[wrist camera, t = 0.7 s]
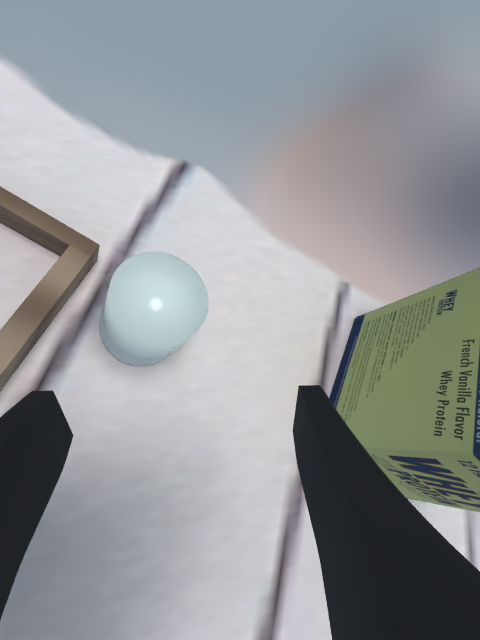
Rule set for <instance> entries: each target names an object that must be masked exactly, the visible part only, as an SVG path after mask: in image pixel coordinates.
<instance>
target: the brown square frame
mask: <svg viewBox="0 0 480 640" xmlns="http://www.w3.org/2000/svg"><path fill="white" fill-rule="evenodd" d="M0 223H2V224H4V225H6V226H8V227H9V228H11V229H13V230H15V231H16V232H18V233H20V234H22V235H24V236H25V237H27V238H29V239H31V240H32V241H34V242H36V243H38V244H40V245H41V246H43V247H45V248H47V249H49V250H50V251H52V252H54V253H56V254H57V255H59V256H61V257H60V258H59V259H58V260H57V262H56V263H55V264H54V265H53V266H52V268H51V269H50V270H49V271H48V273H47V274H46V275H45V276H44V277H43V279H42V280H41V281H40V282H39V284H38V285H37V286H36V287H35V288H34V290H33V291H32V292H31V293H30V295H29V296H28V297H27V298H26V299H25V301H24V302H23V303H22V304H21V306H20V307H19V308H18V309H17V310H16V312H15V313H14V314H13V315H12V317H11V318H10V319H9V320H8V321H7V323H6V324H5V325H4V326H3V328H2V329H1V330H0V390H1V389H2V388H3V386H4V385H5V384H6V382H7V381H8V380H9V378H10V377H11V376H12V374H13V373H14V372H15V370H16V369H17V368H18V366H19V365H20V364H21V362H22V361H23V359H24V358H25V357H26V355H27V354H28V353H29V351H30V350H31V349H32V347H33V346H34V345H35V343H36V342H37V341H38V339H39V338H40V337H41V335H42V334H43V333H44V331H45V330H46V329H47V327H48V326H49V325H50V323H51V322H52V320H53V319H54V318H55V316H56V315H57V314H58V312H59V311H60V310H61V308H62V307H63V306H64V304H65V303H66V302H67V300H68V299H69V298H70V296H71V295H72V294H73V292H74V291H75V290H76V288H77V287H78V285H79V284H80V283H81V281H82V280H83V279H84V277H85V276H86V275H87V273H88V272H89V271H90V269H91V268H92V267H93V265H94V264H95V263H96V261H97V258H98V251H99V244H97V243H95V242H94V241H92V240H90V239H89V238H87V237H85V236H84V235H82V234H80V233H78V232H77V231H75V230H73V229H72V228H70V227H68V226H67V225H65V224H63V223H61V222H60V221H58V220H56V219H55V218H53V217H51V216H50V215H48V214H46V213H44V212H43V211H41V210H39V209H38V208H36V207H34V206H33V205H31V204H29V203H27V202H26V201H24V200H22V199H21V198H19V197H17V196H16V195H14V194H12V193H10V192H9V191H7V190H5V189H4V188H2V187H0Z"/></svg>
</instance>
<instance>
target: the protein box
mask: <svg viewBox="0 0 480 640" xmlns="http://www.w3.org/2000/svg"><path fill="white" fill-rule="evenodd" d="M330 401H331V402H332V404H333V405H334V407H335V408H336V410H337V411H338V413H339V414H340V416H341V417H342V418H343V420H344V421H345V423H346V424H347V426H348V427H349V428H350V430H351V431H352V432H353V434H354V435H355V436H356V438H357V439H358V440H359V442H360V443H361V444H362V446H363V447H364V448H365V449H366V451H367V452H368V453H369V455H370V456H371V457H372V458H373V460H374V461H375V462H376V463H377V465H378V466H379V467H380V468H381V469H382V471H383V472H384V473H385V474H386V475H387V477H388V478H389V479H390V480H391V481H392V483H393V484H394V485H395V486H396V487H397V488H398V489H399V491H400V492H401V493H402V494H403V495H404V496H405V497H406V498H407V499H412V500H417V501H423V502H430V503H434V504H439V505H444V506H449V507H455V508H460V509H466V510H471V511H477V512H480V268H477V269H475V270H472V271H470V272H467V273H465V274H463V275H460V276H458V277H455V278H453V279H450V280H448V281H445V282H443V283H441V284H438V285H435V286H433V287H431V288H428V289H426V290H423V291H421V292H418V293H416V294H413V295H411V296H408V297H406V298H403V299H401V300H398V301H396V302H393V303H391V304H389V305H386V306H384V307H381V308H379V309H376V310H374V311H371V312H369V313H366V314H363V315H361V316H358V317H356V318H355V322H354V325H353V328H352V331H351V334H350V337H349V340H348V343H347V346H346V350H345V353H344V356H343V359H342V362H341V365H340V368H339V371H338V374H337V377H336V381H335V384H334V387H333V390H332V393H331V396H330Z"/></svg>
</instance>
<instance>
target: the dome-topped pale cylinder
mask: <svg viewBox="0 0 480 640" xmlns="http://www.w3.org/2000/svg"><path fill="white" fill-rule="evenodd" d="M207 312H208V295H207V291H206V287H205V285H204V283H203V281H202V279H201V277H200V276H199V275H198V273H197V272H196V271H195V270H194V269H193V268H192V267H191V266H190V265H189V264H187V263H186V262H185V261H183V260H181V259H180V258H178V257H175V256H173V255H170V254H167V253H162V252H145V253H140V254H137V255H135V256H132V257H130V258H129V259H127V260H126V261H124V262H123V263H122V264H121V265H120V266H119V267H118V268H117V270H116V271H115V273H114V275H113V277H112V279H111V282H110V286H109V290H108V293H107V297H106V301H105V305H104V308H103V312H102V316H101V320H100V326H99V330H100V337H101V340H102V342H103V344H104V346H105V348H106V349H107V351H108V352H109V353H110V354H111V355H112V356H113V357H115V358H116V359H117V360H119V361H121V362H123V363H125V364H128V365H132V366H148V365H153V364H155V363H158V362H159V361H161V360H163V359H164V358H166V357H167V356H168V355H169V354H170V353H172V352H173V351H174V350H175V349H177V348H178V347H179V346H180V345H181V344H183V343H184V342H185V341H186V340H188V339H189V338H190V337H191V336H193V335H194V334H195V333H196V332H197V331H198V330H199V329H200V327H201V326H202V324H203V323H204V321H205V318H206V316H207Z"/></svg>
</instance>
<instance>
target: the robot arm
mask: <svg viewBox="0 0 480 640" xmlns="http://www.w3.org/2000/svg"><path fill="white" fill-rule="evenodd" d="M293 436H294V444H295V451H296V458H297V465H298V469H299V473H300V478H301V482H302V486H303V490H304V494H305V498H306V502H307V507H308V511H309V515H310V519H311V523H312V527H313V531H314V535H315V539H316V544H317V548H318V553H319V558H320V563H321V569H322V575H323V582H324V588H325V594H326V601H327V607H328V614H329V621H330V627H331V634H332V640H480V571H479V570H478V569H477V568H476V567H474V566H473V565H472V564H471V563H470V562H469V561H468V560H467V559H466V558H465V557H464V556H463V555H462V554H460V553H459V552H458V551H457V550H456V549H455V548H454V547H453V546H452V545H451V544H450V543H449V542H448V541H447V540H446V539H445V538H444V537H443V536H442V535H441V534H440V533H439V532H438V531H437V530H436V529H435V528H434V527H433V526H432V525H431V524H430V523H429V522H428V521H427V520H426V519H425V518H424V517H423V516H422V514H421V513H420V512H419V511H418V510H417V509H416V508H415V507H414V506H413V505H412V504H411V503H410V502H409V501H408V499H407V498H406V497H405V496H404V495H403V494H402V493H401V492H400V491H399V489H398V488H397V487H396V486H395V485H394V484H393V483H392V481H391V480H390V479H389V478H388V477H387V475H386V474H385V473H384V472H383V471H382V469H381V468H380V467H379V466H378V465H377V463H376V462H375V461H374V460H373V458H372V457H371V456H370V455H369V453H368V452H367V451H366V449H365V448H364V447H363V446H362V444H361V443H360V442H359V440H358V439H357V438H356V436H355V435H354V434H353V432H352V431H351V430H350V428H349V427H348V426H347V424H346V423H345V421H344V420H343V418H342V417H341V416H340V414H339V413H338V411H337V410H336V408H335V407H334V405H333V404H332V402H331V401H330V399H329V398H328V396H327V395H326V393H325V391H324V390H323V388H322V387H321V386H320V385H313V386H299V389H298V396H297V403H296V410H295V418H294V425H293ZM72 438H73V434H72V431H71V429H70V427H69V425H68V423H67V420H66V418H65V416H64V414H63V412H62V409H61V407H60V405H59V403H58V401H57V398H56V396H55V394H54V392H53V391H32V392H30V393H29V394H28V395H27V396H25V397H24V398H23V399H22V400H21V401H19V402H18V403H17V404H16V405H15V406H13V407H12V408H11V409H10V410H9V411H7V412H6V413H5V414H4V415H3V416H2V417H0V620H1V617H2V614H3V611H4V608H5V605H6V602H7V600H8V597H9V594H10V591H11V588H12V585H13V583H14V580H15V577H16V574H17V572H18V569H19V567H20V564H21V562H22V559H23V557H24V555H25V552H26V550H27V548H28V546H29V543H30V541H31V539H32V537H33V535H34V532H35V530H36V528H37V526H38V524H39V521H40V519H41V517H42V515H43V513H44V510H45V508H46V506H47V504H48V502H49V499H50V497H51V495H52V493H53V491H54V488H55V486H56V484H57V482H58V479H59V477H60V475H61V472H62V470H63V467H64V464H65V461H66V458H67V455H68V452H69V448H70V445H71V441H72Z"/></svg>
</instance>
